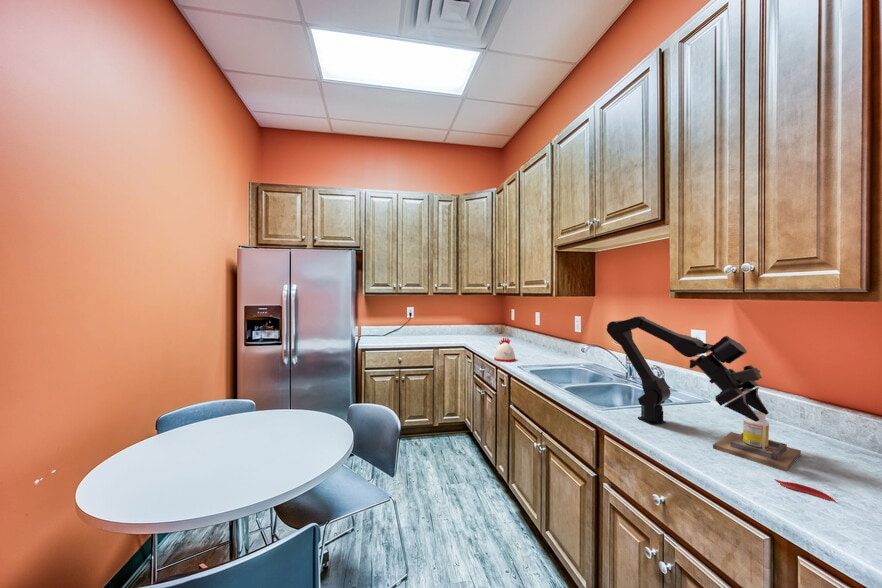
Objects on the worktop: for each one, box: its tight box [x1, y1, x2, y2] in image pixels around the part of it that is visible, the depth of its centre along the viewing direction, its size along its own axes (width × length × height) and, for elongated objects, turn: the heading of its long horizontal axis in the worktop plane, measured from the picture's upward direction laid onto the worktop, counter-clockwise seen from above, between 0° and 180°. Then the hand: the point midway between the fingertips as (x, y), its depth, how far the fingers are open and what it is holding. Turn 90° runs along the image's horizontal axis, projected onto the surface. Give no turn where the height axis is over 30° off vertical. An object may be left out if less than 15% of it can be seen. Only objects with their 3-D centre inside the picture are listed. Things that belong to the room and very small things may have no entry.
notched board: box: [712, 431, 802, 472], centre depth 102 cm, size 16×16×3 cm
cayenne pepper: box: [773, 478, 839, 505], centre depth 83 cm, size 12×5×2 cm, turn 17°
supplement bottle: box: [742, 410, 770, 450], centre depth 102 cm, size 6×6×10 cm
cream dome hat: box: [493, 337, 516, 363], centre depth 234 cm, size 14×14×15 cm
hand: (762, 417), depth 101 cm, fingers open, 9 cm apart
